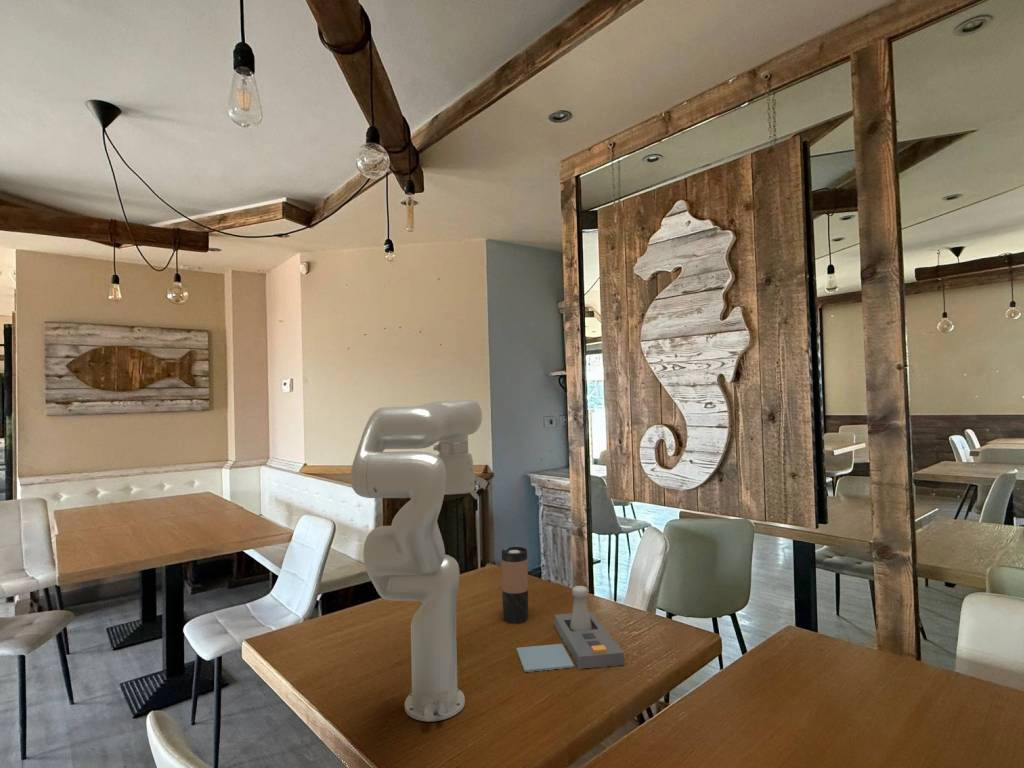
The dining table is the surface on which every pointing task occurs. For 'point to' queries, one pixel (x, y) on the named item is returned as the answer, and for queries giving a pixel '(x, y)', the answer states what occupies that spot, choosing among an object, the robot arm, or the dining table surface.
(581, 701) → the dining table surface
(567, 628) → the power strip
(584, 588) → the salt shaker
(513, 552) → the travel mug
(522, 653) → the rubber mat
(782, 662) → the dining table surface
